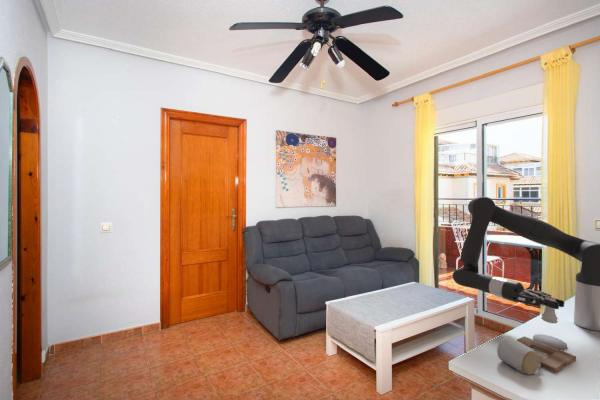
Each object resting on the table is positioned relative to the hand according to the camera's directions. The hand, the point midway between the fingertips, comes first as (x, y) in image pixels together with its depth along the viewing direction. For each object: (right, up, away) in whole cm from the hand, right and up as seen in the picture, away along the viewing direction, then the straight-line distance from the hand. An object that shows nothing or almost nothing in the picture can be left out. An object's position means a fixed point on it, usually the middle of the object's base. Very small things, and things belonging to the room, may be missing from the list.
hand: (560, 305), depth 100 cm
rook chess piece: (-2, -7, +3) cm, 7 cm away
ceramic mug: (-23, -14, -12) cm, 29 cm away
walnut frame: (-12, -14, -5) cm, 19 cm away
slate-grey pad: (-1, -14, +3) cm, 15 cm away
